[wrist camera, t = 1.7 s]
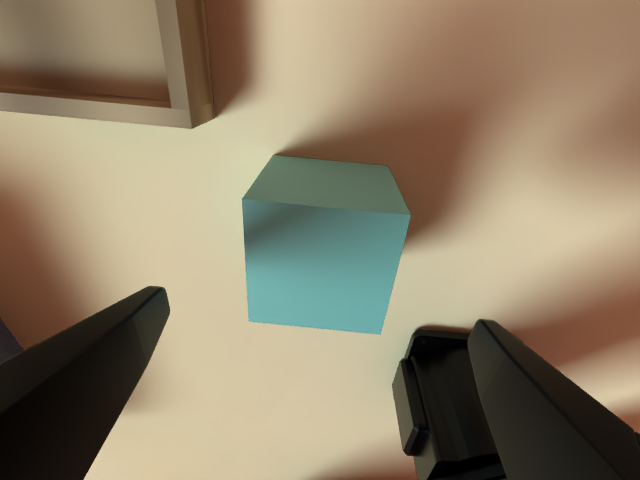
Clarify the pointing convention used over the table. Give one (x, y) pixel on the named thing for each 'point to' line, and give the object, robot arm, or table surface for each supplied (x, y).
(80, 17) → the tray
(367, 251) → the cube
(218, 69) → the table surface
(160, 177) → the table surface
